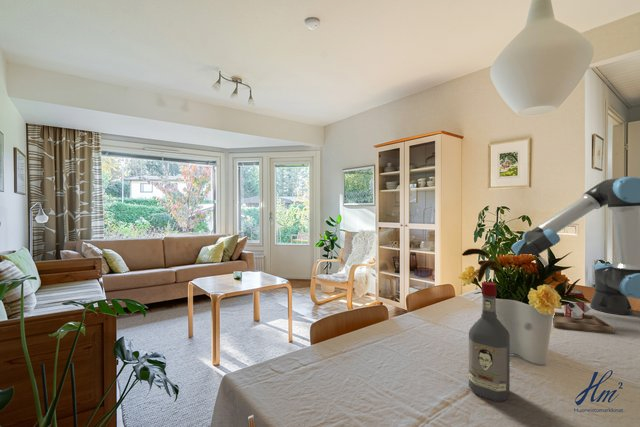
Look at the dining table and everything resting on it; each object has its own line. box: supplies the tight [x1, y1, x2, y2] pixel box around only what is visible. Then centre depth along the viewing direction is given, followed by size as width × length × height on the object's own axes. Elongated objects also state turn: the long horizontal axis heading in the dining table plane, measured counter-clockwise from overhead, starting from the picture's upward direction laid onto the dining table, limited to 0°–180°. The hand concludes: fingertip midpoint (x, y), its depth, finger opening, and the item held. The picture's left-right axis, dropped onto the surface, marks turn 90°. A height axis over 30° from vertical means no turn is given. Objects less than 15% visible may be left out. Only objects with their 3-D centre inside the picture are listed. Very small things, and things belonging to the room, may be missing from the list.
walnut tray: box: [552, 311, 614, 334], centre depth 133 cm, size 20×15×2 cm
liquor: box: [468, 281, 511, 402], centre depth 84 cm, size 9×9×30 cm
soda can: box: [563, 289, 585, 320], centre depth 133 cm, size 7×7×12 cm
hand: (584, 312), depth 130 cm, fingers closed on soda can, 7 cm apart
